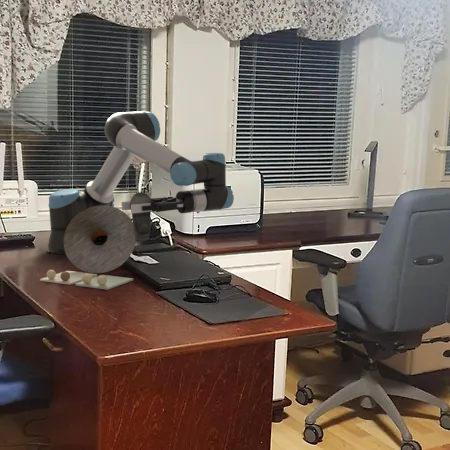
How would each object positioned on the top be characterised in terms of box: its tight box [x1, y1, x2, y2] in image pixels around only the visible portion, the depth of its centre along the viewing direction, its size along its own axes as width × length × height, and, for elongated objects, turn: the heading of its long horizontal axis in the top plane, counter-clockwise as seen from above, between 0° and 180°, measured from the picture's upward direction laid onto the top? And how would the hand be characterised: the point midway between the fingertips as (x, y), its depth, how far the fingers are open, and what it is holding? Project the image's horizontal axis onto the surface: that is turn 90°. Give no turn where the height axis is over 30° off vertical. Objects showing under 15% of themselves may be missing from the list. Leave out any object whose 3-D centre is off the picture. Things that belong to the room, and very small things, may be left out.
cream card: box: [39, 269, 98, 286], centre depth 243 cm, size 13×13×4 cm
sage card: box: [74, 274, 134, 291], centre depth 235 cm, size 13×13×4 cm
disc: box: [64, 205, 137, 274], centre depth 260 cm, size 25×18×25 cm
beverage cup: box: [129, 178, 152, 242], centre depth 241 cm, size 7×7×20 cm
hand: (126, 207), depth 238 cm, fingers closed on beverage cup, 7 cm apart
